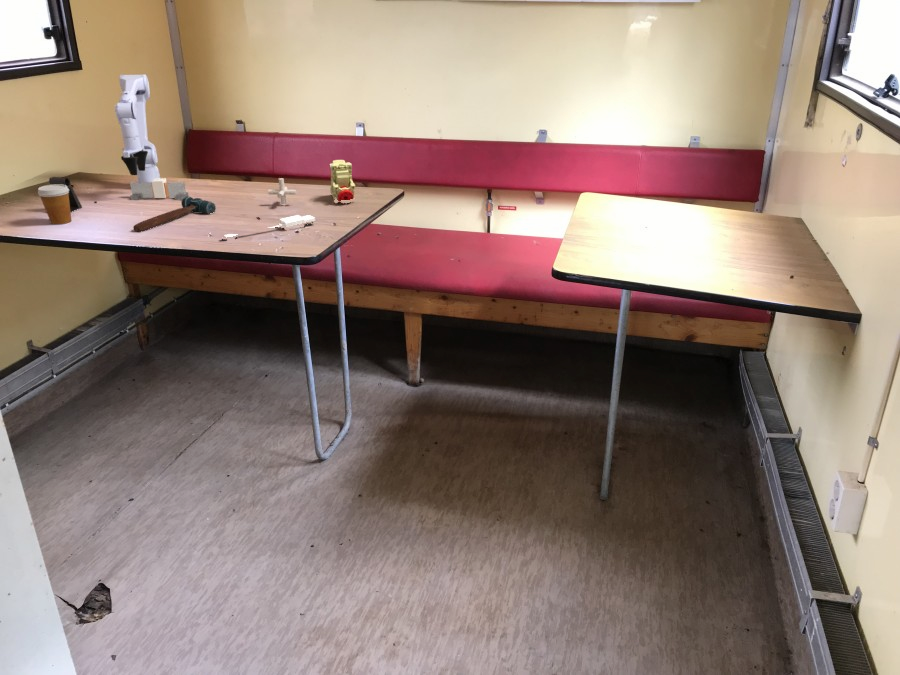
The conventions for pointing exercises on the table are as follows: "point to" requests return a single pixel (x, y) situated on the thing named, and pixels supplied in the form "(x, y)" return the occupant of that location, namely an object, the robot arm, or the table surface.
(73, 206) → the phone stand
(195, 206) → the hammer
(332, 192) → the mechanical component
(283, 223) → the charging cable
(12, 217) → the table surface
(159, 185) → the clip
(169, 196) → the grey and orange bar
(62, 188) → the disposable coffee cup
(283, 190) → the pipe connector
